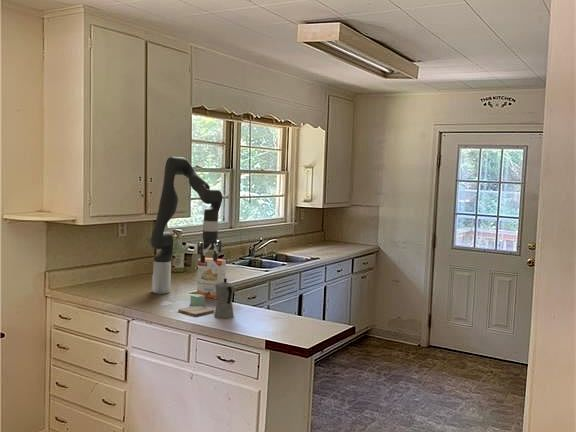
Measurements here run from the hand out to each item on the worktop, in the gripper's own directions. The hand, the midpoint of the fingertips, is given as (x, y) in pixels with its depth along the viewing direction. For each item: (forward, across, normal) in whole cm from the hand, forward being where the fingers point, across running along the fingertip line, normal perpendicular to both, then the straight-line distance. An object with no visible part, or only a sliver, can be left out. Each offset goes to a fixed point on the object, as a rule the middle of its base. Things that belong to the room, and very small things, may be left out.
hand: (208, 261), depth 286 cm
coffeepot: (+22, +9, +21) cm, 32 cm away
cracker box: (+23, -14, -12) cm, 29 cm away
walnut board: (+22, +13, +6) cm, 26 cm away
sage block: (+22, +3, -4) cm, 23 cm away
